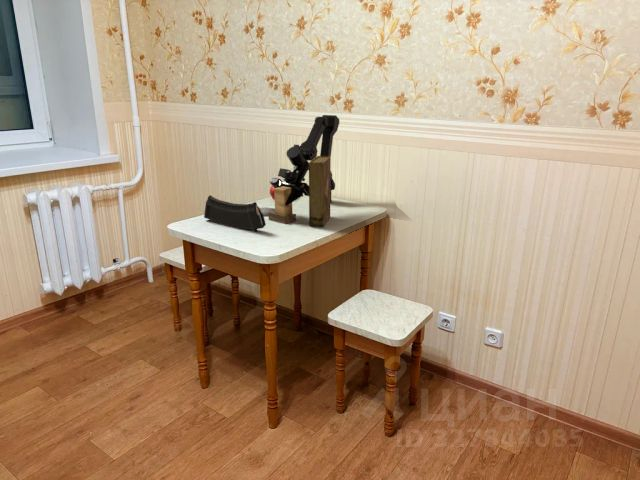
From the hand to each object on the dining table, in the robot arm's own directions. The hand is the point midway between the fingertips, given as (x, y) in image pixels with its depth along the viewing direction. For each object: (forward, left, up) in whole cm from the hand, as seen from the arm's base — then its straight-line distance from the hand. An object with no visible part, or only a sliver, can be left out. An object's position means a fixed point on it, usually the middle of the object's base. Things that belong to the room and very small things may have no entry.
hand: (281, 204), depth 191 cm
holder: (-1, -1, -7) cm, 7 cm away
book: (-16, +1, -7) cm, 17 cm away
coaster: (+9, -11, -7) cm, 16 cm away
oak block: (-1, -1, -7) cm, 7 cm away
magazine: (+17, +9, -7) cm, 21 cm away
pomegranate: (+6, -37, -7) cm, 38 cm away
